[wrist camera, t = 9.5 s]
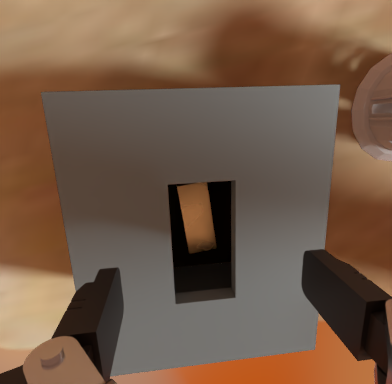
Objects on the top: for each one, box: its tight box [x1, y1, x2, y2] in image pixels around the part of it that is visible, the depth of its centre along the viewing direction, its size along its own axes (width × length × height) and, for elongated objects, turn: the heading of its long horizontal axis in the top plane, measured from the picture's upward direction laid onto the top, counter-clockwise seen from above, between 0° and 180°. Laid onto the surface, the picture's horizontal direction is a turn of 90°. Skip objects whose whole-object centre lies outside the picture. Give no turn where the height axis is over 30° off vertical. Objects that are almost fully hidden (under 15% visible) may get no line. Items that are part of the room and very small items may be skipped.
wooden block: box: [176, 182, 217, 254], centre depth 21 cm, size 2×5×6 cm, turn 9°
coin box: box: [41, 85, 340, 376], centre depth 19 cm, size 14×16×10 cm
